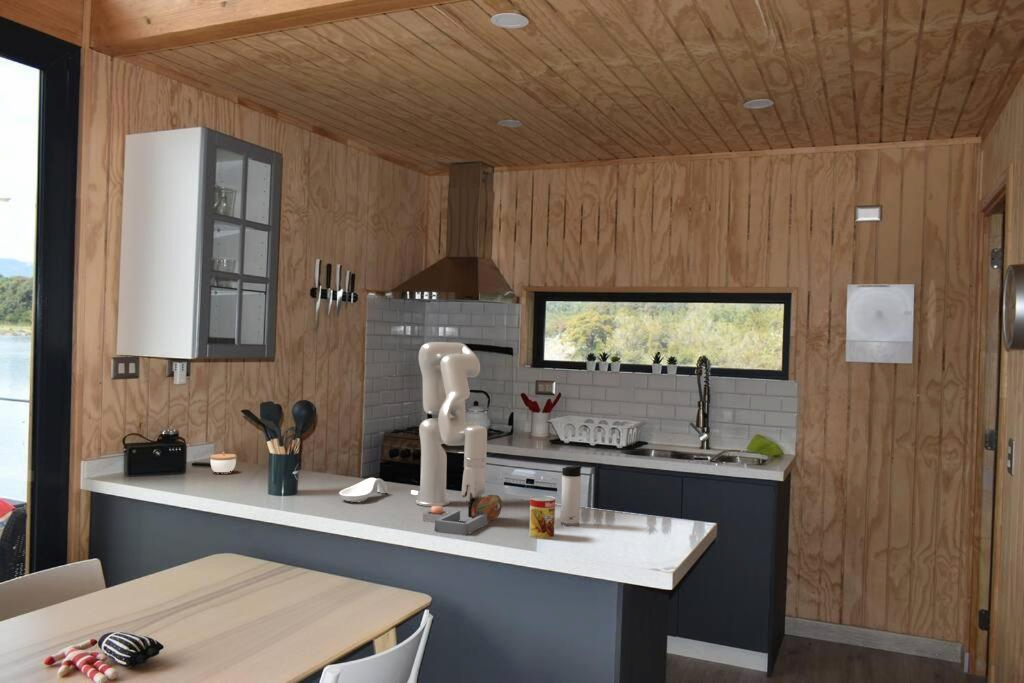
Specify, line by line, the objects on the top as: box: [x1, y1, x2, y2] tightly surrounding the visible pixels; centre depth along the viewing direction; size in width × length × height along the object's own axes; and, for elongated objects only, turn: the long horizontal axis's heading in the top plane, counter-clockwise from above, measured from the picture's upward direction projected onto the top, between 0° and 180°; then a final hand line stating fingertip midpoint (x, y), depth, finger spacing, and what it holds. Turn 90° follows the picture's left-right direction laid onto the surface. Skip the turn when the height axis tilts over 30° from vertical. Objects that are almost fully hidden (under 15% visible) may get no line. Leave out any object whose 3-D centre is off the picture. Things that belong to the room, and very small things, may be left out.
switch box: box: [422, 509, 452, 523], centre depth 274 cm, size 7×7×2 cm
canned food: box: [529, 495, 556, 540], centre depth 256 cm, size 8×8×12 cm
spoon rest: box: [338, 477, 389, 503], centre depth 307 cm, size 24×12×7 cm, turn 155°
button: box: [430, 506, 444, 515], centre depth 274 cm, size 4×4×2 cm
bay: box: [434, 510, 488, 536], centre depth 264 cm, size 11×17×4 cm, turn 160°
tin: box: [471, 494, 502, 522], centre depth 274 cm, size 15×3×8 cm, turn 147°
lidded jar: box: [209, 451, 237, 473], centre depth 352 cm, size 11×11×9 cm
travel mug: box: [560, 465, 583, 527], centre depth 272 cm, size 6×7×20 cm
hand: (473, 517), depth 273 cm, fingers closed
